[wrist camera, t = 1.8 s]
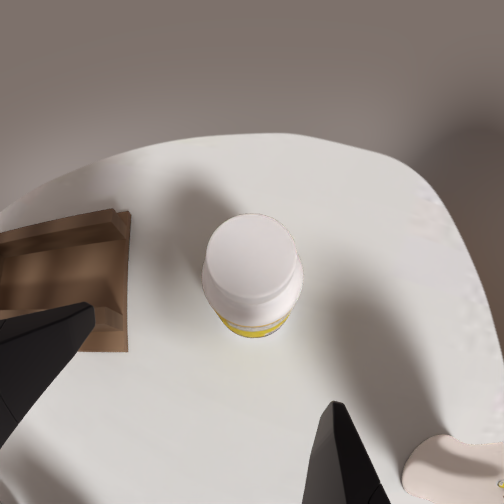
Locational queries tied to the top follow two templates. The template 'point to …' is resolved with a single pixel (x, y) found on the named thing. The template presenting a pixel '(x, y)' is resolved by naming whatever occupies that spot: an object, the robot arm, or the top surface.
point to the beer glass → (455, 472)
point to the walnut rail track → (70, 272)
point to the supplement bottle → (252, 274)
